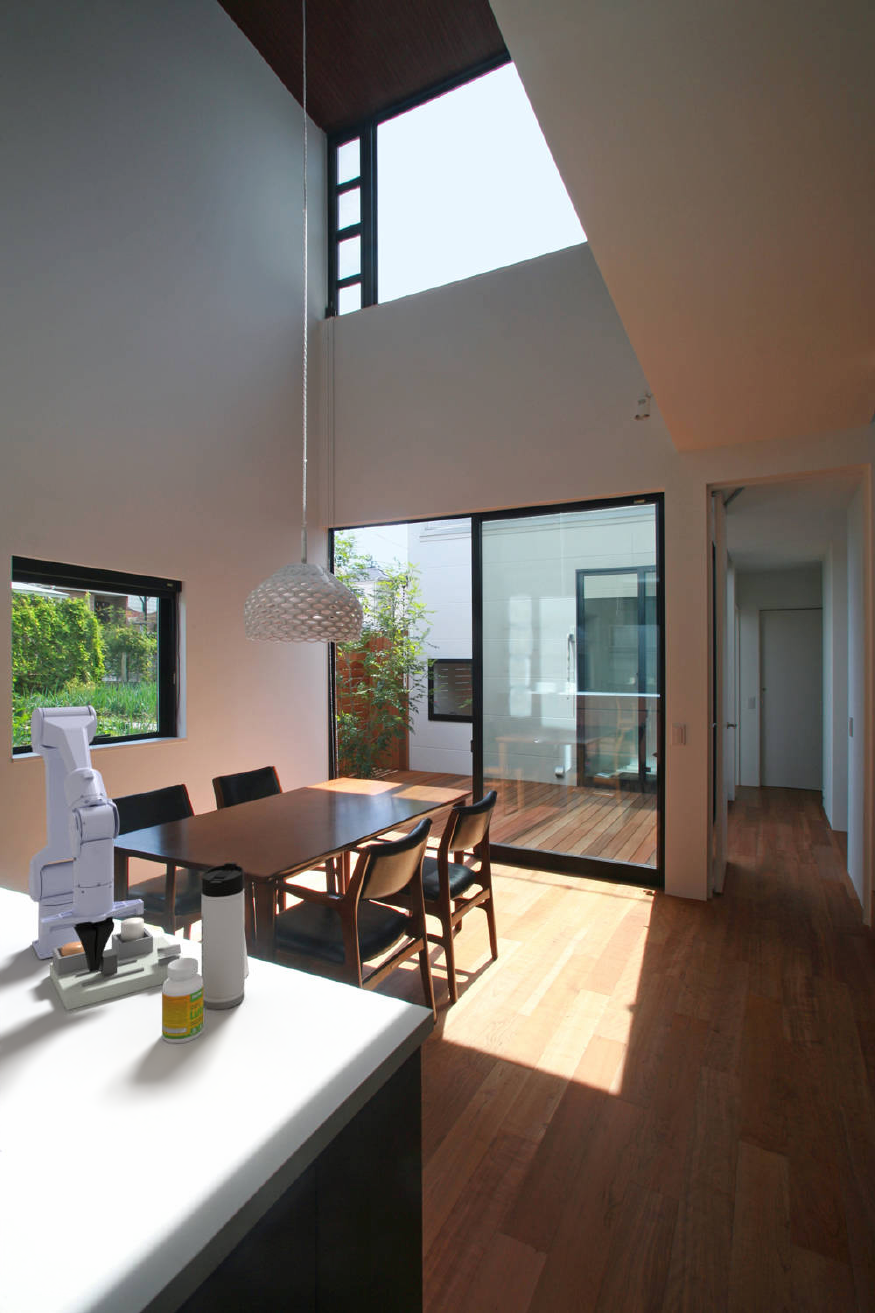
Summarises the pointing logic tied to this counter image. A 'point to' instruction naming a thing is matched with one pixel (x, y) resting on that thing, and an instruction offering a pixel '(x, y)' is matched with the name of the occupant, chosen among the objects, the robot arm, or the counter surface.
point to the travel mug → (223, 936)
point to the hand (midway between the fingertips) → (93, 968)
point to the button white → (132, 929)
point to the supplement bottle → (182, 1001)
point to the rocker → (169, 950)
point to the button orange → (72, 948)
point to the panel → (133, 974)
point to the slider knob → (108, 962)
